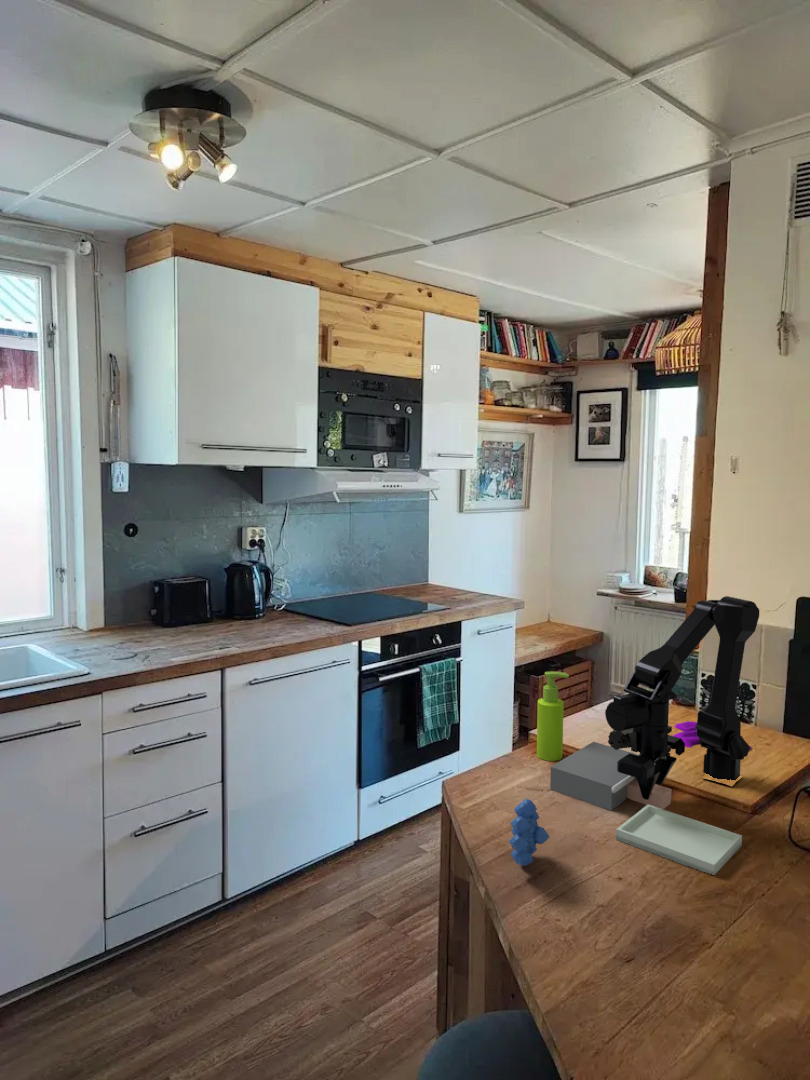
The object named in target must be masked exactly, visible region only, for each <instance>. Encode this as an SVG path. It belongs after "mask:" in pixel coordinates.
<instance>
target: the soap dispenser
mask: <svg viewBox="0 0 810 1080" xmlns="http://www.w3.org/2000/svg"><path fill="white" fill-rule="evenodd" d="M569 676H570V675H569V673H567V672H562V671H545V672H544V677H546V684H545V685H543V687H542V689H543V690H542V693H543V694H542V697H541V698H538V700H537V709H536V711H537V713H536V715H537V717H536V723H537V724H536V757H537V758H538V759H540V760H541V761H548V762H549V761H550V762H555V761H561V760H562V758H563V754H564V753H563V747H564V746H563V743H564V703H565V701H564V700H562V699H560V698H559V686H558V685H556V683H555V680H556V677H557V678H565V679H568V678H569Z"/></svg>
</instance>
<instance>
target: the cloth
mask: <svg viewBox="0 0 810 1080" xmlns="http://www.w3.org/2000/svg"><path fill="white" fill-rule="evenodd" d="M696 724H697V722H696V721H691V720H690V721H684V722H683V721H682V722H680V723H677V724H676V725H674V728H675V729H678V730H680V731H681V732H677V733H675V734H674V735H673V736H675V737H678V738H681V739H682V740H683V741H684V743H685V748H690V749H691V748H692V747H694V746H695V745H700V741H699V737H698V736H697V729H696V728H695V726H696ZM740 736H741V737H742V738H743V736H742V735H740ZM751 748H752V746H750V749H751ZM751 750H752V749H751Z"/></svg>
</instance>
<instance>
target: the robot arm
mask: <svg viewBox="0 0 810 1080" xmlns="http://www.w3.org/2000/svg"><path fill="white" fill-rule="evenodd" d="M759 619H760V608H759V607H758V606H757V604H756V603H755V602H754V601H751V600H746V599H744V598H743V599H742V598H737V597H733V596H729V595H725V596H723V597H722V598H720V599H708V600H705V599H703V600H698V601H697V602H696V603H695V604H694V606H693V610H692V611H691V613H690V614H689V615H688V616H687V617H686V618H685V620H683V622H682V623H681V624H680V626H678V628H677V629H676V630H674V633H673V634H672V635H671V636H670V637H669V638H668V639H667V640H666V641H665V643H663V645H661V646H660V647H659V648H656V649H654V650H651V651H649V652H648V653H647V654H645V655H644V656H643V657H642V658H640V659H639V661H638V662H637V663H636V665H635V666H634V670H633V671H632V673H631V675H630V677H629V679H628V680H627V682H626V684H625V686H624V688H623V692H625V693H626V694H616V695H614V696H613V698H612V699H613V700H612V702H611V701H610V703H608V704H607V706H606V708H605V709H604V710H605V712H604V715H605V719H606V720H605V721H606V722H607V724H608V726H609V727H610V729H611V730H612V731H610V732H609V735H607V736H608V741H607V743H608V745H609V746H611V747H613V748H614V750H618V749H629V748H630V752H632V753H639V754H638V756H637V755H634V754H630V753H629V754H628V755H626V756H625V757H623V758H622V759H620V760H619V761H617V771H618V772H620V773H623V774H626V775H629V776H632V777H636V778H637V781H638V784H639V788H640V791H641V794H642V797H643V799H646V800H648V799H649V797H650V795H651V793H652V790H653V788H654V785H655V784H657V785H660V786H663V783H664V781H665V780H666V778H667V776H668V775H669V774H670V773H669V772H670V771H671V770H672V768H673V766H674V764H675V763H676V762H677V757H675V756H671V751H672V750H675V751H674V753H675V754H676V755H677V756H681V755H683V754H684V753H685V751H686V747H685V743H684V741H683V740H682V739H681V738H678V737H675V736H674V735H671V734H670V733H672V732H673V727H672V726H671V725H669V717H670V716H669V715H670V714H669V713H670V712H669V711H670V701H672V700H674V699H677V698H678V695H677V694H676V693H675V692H674V691H673V689H674V687H675V685H676V684H677V682H678V680H679V679H680V677H681V676H682V671H683V670H682V668H683V664H684V662H685V661H686V660H687V658H688V657H689V656H690V655H691V654H692V652H693V651H694V650H695V648H697V646H698V645H699V644H700V643H701V642H702V641H703V639H704V638H705V637H706V636H707V635H708V633H709V632H710V631H711V630H712V629H713V628H714V626H715V629H716V632H717V633H718V637H719V641H718V642H719V643H718V648H717V649H718V650H717V655H716V663H715V668H714V676H713V683H712V689H711V694H710V701H709V704H708V706H707V707H705V709H703V710H699V711H698V713H697V720H696V721H697V724H696V726H695V728H696V729H697V736H698V737H699V741H700V744H699V745H700V747H701V748H705V749H706V753H705V754H704V755H703V768H702V770H703V772H702V773H703V774H705V773H706V774H709V775H710V776H712V777H713V778H717V779H727V780H730V779H731V780H736V779H737V778H738V777H739V776H740V775H741V762H742V761H741V760H744V759H745V758H746V757H748V755H749V751H750V750H749V749H750V747H751V746H750V745H749V744H748V743H747V741H746V740H745V738H743V736H742V735H741V727H742V724H741V723H742V722H741V720H740V718H739V715H738V713H737V710H736V704H737V698H738V692H739V685H740V679H741V673H742V671H741V670H742V665H743V660H744V659H743V658H744V653H745V645H746V642H747V641H748V640H749V638H751V636H753V634H754V633H755V632H756V629H757V626H758V622H759ZM641 686H642V687H641ZM643 687H645V688H643ZM647 688H649V689H650V690H648V689H647ZM741 736H742V737H741Z"/></svg>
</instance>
